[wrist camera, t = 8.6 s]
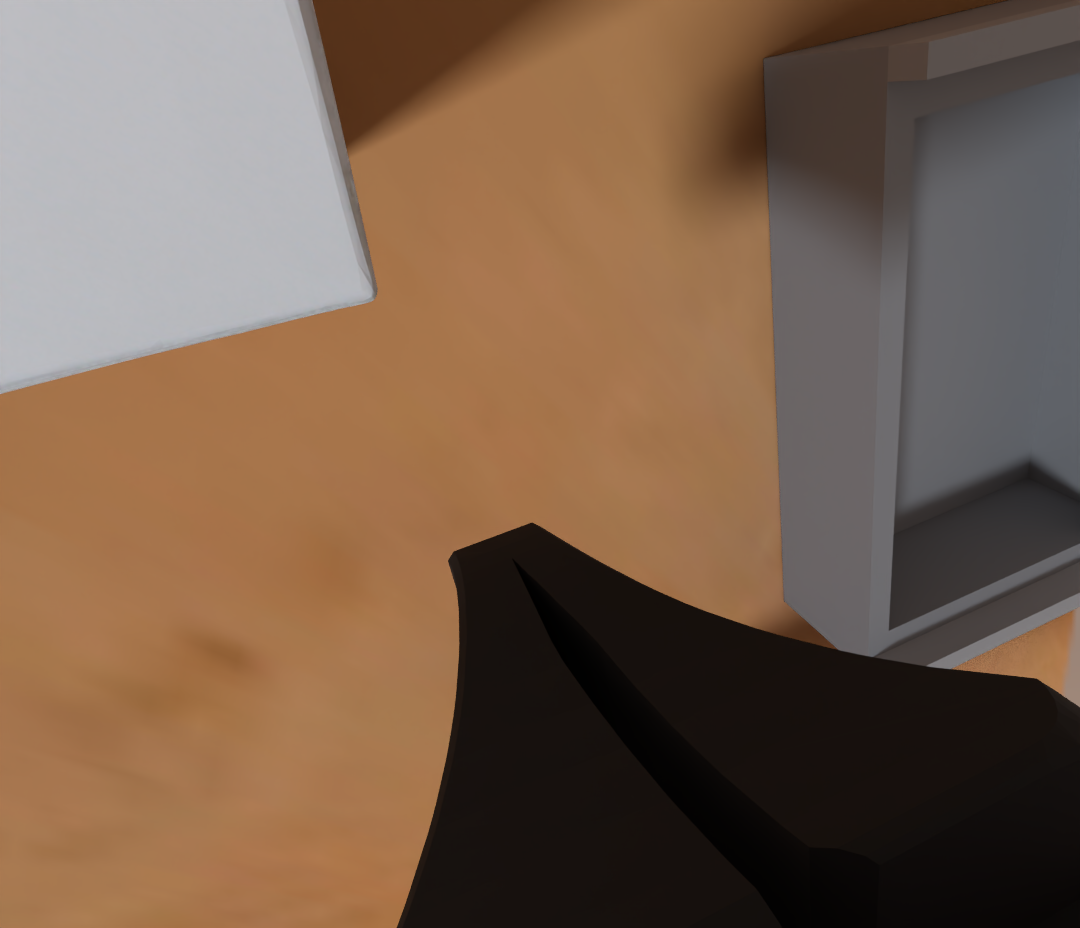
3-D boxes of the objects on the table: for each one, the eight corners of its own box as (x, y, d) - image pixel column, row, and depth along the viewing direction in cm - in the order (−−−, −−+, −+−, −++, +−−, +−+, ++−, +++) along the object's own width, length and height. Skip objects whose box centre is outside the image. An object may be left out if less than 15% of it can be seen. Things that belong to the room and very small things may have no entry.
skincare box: (14, 250, 16) (-379, 496, 6) (-94, 19, 14) (-997, -235, 4) (301, 195, 17) (393, 312, 7) (240, -21, 15) (251, -279, 5)
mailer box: (1024, 497, 32) (1163, 565, 27) (783, 601, 29) (891, 697, 24) (1102, -23, 23) (1333, -59, 18) (763, 58, 20) (928, 41, 15)
